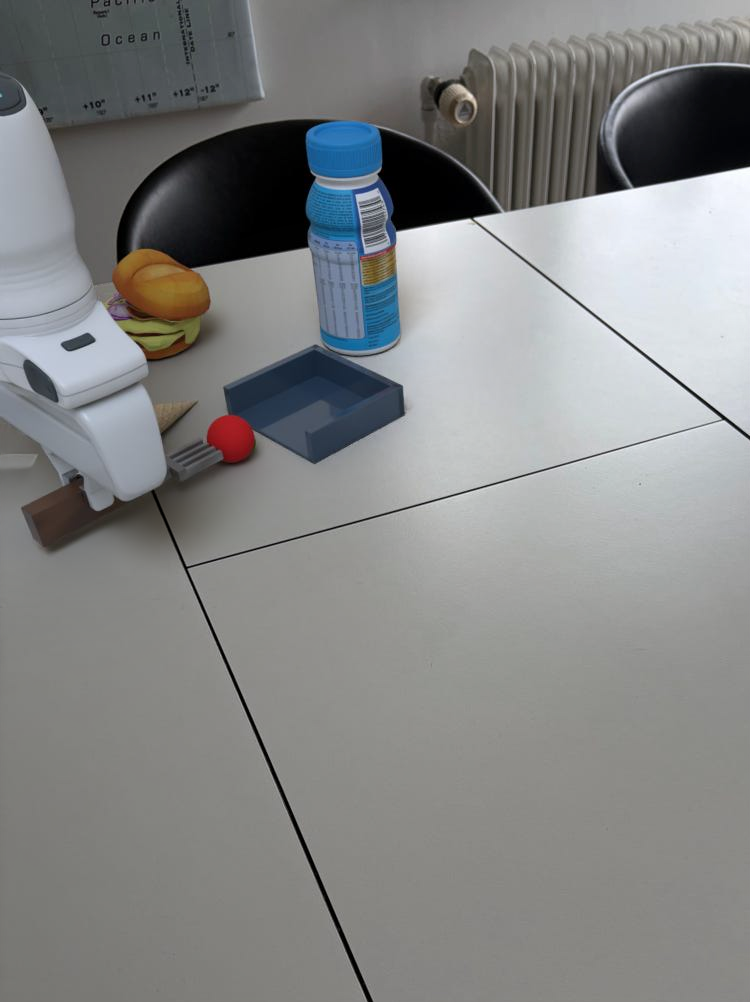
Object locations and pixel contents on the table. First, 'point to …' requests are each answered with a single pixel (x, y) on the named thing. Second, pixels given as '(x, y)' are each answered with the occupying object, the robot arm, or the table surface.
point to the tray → (315, 402)
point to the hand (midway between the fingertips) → (89, 497)
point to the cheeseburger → (158, 302)
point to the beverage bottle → (352, 239)
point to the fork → (70, 511)
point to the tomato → (231, 437)
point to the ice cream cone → (170, 412)
